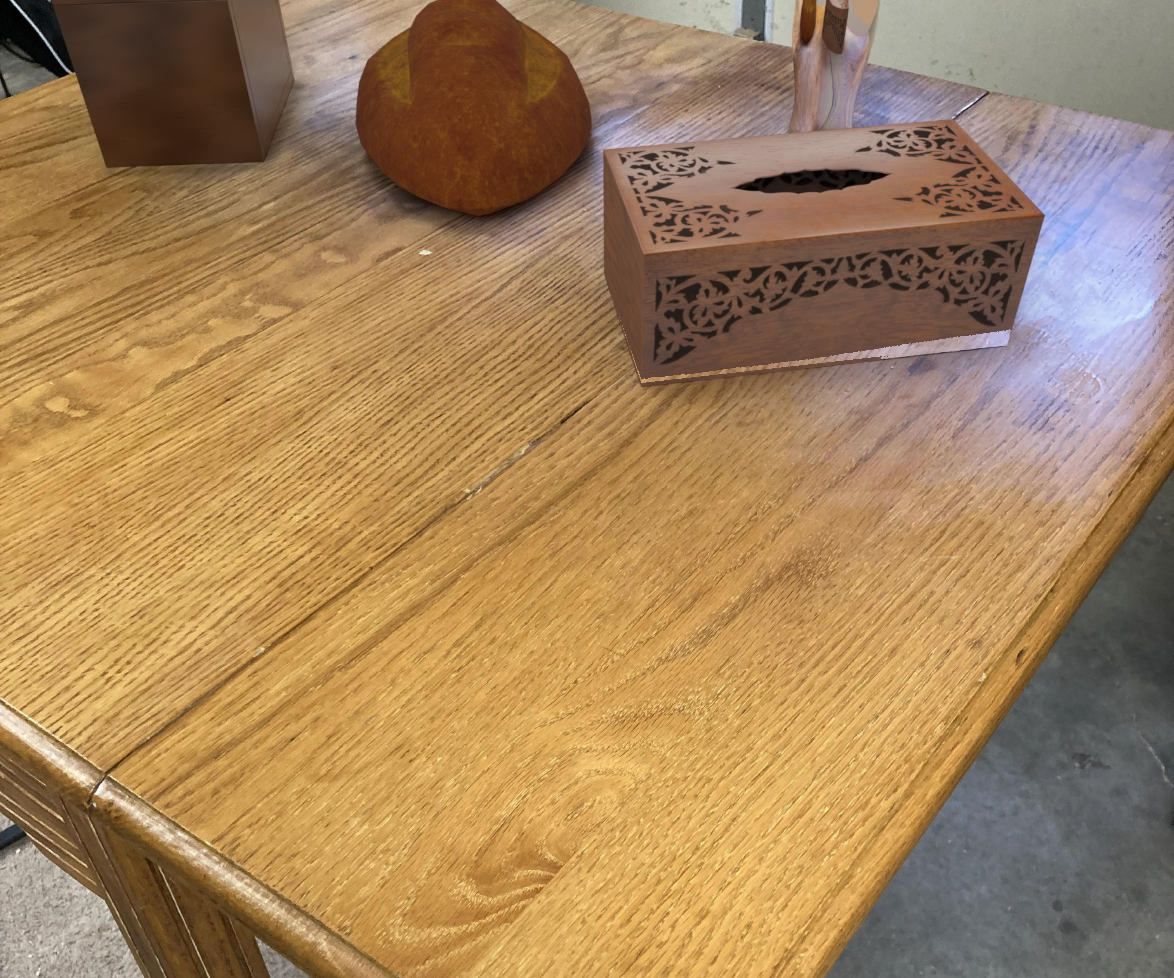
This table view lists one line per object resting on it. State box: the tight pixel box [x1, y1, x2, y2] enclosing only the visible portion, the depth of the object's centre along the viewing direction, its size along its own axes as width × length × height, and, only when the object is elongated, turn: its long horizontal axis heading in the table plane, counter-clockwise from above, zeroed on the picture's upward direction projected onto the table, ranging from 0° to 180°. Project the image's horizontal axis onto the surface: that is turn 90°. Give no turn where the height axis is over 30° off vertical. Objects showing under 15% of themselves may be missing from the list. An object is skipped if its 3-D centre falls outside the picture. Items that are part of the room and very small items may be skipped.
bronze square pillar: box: [51, 0, 295, 168], centre depth 101 cm, size 14×18×16 cm
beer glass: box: [785, 0, 881, 134], centre depth 96 cm, size 7×7×15 cm
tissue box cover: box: [602, 118, 1046, 388], centre depth 78 cm, size 26×14×10 cm, turn 99°
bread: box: [355, 0, 593, 217], centre depth 98 cm, size 21×33×12 cm, turn 2°
